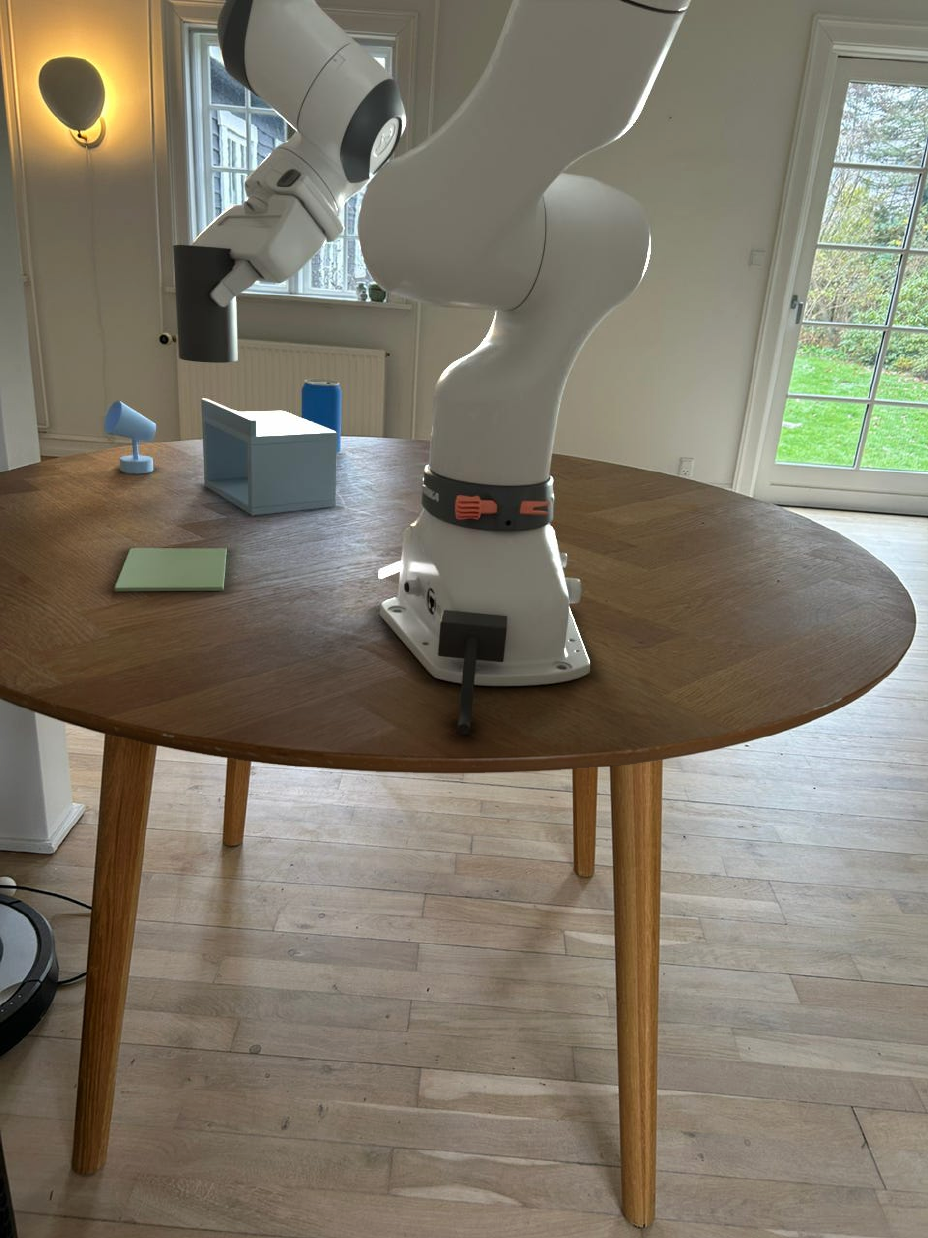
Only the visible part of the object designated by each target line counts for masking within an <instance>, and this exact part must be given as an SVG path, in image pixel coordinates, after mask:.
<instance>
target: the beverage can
mask: <svg viewBox="0 0 928 1238" xmlns="http://www.w3.org/2000/svg"><path fill="white" fill-rule="evenodd" d="M342 391H343V390H342V388H341V387H340V382H339V381H337V380H331V379H323V378H314V379H313V378H308V379H305V380H304V383H303V385H302V387H301V413H300V415H301V417H300V418H302V419H305V420H307V421H310V422H312V423H315V424H317V425H320V426H322V427H325V428H328V429H330V430H333V431H335V432H337V454H339V453H340V452H341V441H342V439H341V438H342V437H341V436H342V435H341V434H342V396H343V395H342V393H343V392H342Z"/></svg>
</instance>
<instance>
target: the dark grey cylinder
mask: <svg viewBox="0 0 928 1238" xmlns="http://www.w3.org/2000/svg"><path fill="white" fill-rule="evenodd" d="M172 249H173V269H174V271H173V272H174V289H175V290H174V291H175V308H176V325H177V329H176V330H177V346H178V347H177V349H178V359H180V360H182V361H188V362H195V363H196V362H198V363H211V364H212V363H215V364H220V363H221V364H226V363H235V362H238V360H239V354H238V353H239V350H238V347H239V346H238V313H237V310H238V309H237V296H235V297H234V298H233V299H232V300H231V301H230V302H229V304H228V305H227V306H225V307H220V306H217V305H215V304H214V303H213V302H212V301H211V300H210V299H209V297H208V295H207V293H208V291H209V290H210V289H211V288H212V287H213V285H214V284H215V283H216V282H220V281H221V280H222V279H223V278H225V277H226V276H227V275H228V274H229V273H230V272H231V271H232V270H233V269H232V268H233V266H234V265H235V259H231V257H230V250H231V249H229V248H217V247H205V246H192V245H191V244H190V245H189V244H177V243H175V244H173V245H172Z"/></svg>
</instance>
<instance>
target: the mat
mask: <svg viewBox="0 0 928 1238" xmlns="http://www.w3.org/2000/svg"><path fill="white" fill-rule="evenodd" d="M226 561H227V548H225V547H223V548H220V547H216V548H215V547H214V548H213V547H212V548H210V547H209V548H208V547H199V548H198V547H196V548H195V547H194V548H193V547H130V549H129V551H128V553H127V555H126V559H125V561H124V562H123V566H122V568H121V571H120V573H119V575H118V578H117V580H116V583H115V586H114V592H212V591H213V592H217V591H218V592H219V591H220V592H221V591H224V588H225V587H224V586H225V585H224V584H225V574H226Z"/></svg>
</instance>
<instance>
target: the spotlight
mask: <svg viewBox="0 0 928 1238" xmlns="http://www.w3.org/2000/svg"><path fill="white" fill-rule="evenodd" d="M103 430H104V432H105V434H107V435H111V436H117V437H122V438H126V439H132V441H131V444H132V447H131V449H132V454H131V455H130V454H129V455H124V456H121V457H119V469H120V472H122V473H127V474H147V473H151V472H153V471H154V463H153V457H151V456H148V455H143V454H139V453H140V452H139V442H140V441H141V442H142V441H143V442H146V443H149V442H151V441H152V440H153V439H154V437H155V434H156V430H157V425H156V423H155V422H153V421H152V420H150V419H149V418H147V417H145V416H144V415H142V414H141V413H139V412H138V411H137V410H135V409H133V408H131V407H129V406H128V405H126V403H123V402H122V401H120V400H115V401H114V402H113V403H112V404H111V405H110V406H109V408H108V409H107V412H106V414H105V418H104V421H103Z"/></svg>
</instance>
